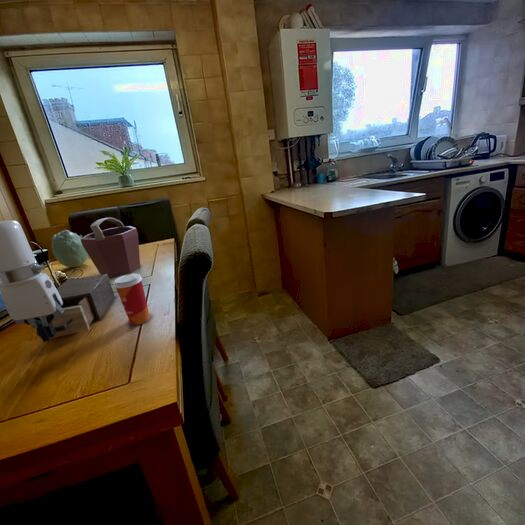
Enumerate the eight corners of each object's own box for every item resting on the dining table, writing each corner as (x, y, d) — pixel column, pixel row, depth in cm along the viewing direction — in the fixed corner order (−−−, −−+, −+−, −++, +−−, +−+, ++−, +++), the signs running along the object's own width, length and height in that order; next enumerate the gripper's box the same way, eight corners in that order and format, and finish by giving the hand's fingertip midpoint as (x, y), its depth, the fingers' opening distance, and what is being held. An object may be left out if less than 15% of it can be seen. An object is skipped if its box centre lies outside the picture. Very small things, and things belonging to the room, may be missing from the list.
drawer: (81, 340, 76) (71, 315, 73) (32, 350, 74) (19, 325, 71) (105, 305, 95) (98, 285, 92) (66, 313, 93) (57, 292, 90)
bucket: (122, 280, 118) (104, 223, 110) (80, 281, 124) (59, 227, 115) (154, 260, 141) (141, 211, 132) (117, 262, 146) (102, 214, 137)
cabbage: (95, 258, 159) (83, 224, 152) (92, 267, 142) (78, 229, 135) (63, 265, 153) (49, 230, 146) (56, 275, 136) (40, 236, 129)
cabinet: (100, 319, 88) (90, 292, 84) (53, 329, 85) (41, 301, 82) (115, 297, 103) (107, 273, 100) (76, 304, 101) (66, 280, 98)
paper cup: (127, 317, 87) (114, 276, 82) (153, 310, 89) (141, 270, 84) (125, 330, 80) (110, 286, 75) (153, 322, 82) (140, 279, 77)
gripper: (61, 262, 70) (86, 324, 77) (-5, 273, 68) (26, 336, 75) (46, 273, 64) (74, 340, 70) (-28, 285, 61) (8, 353, 68)
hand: (49, 337), depth 72 cm, fingers closed
